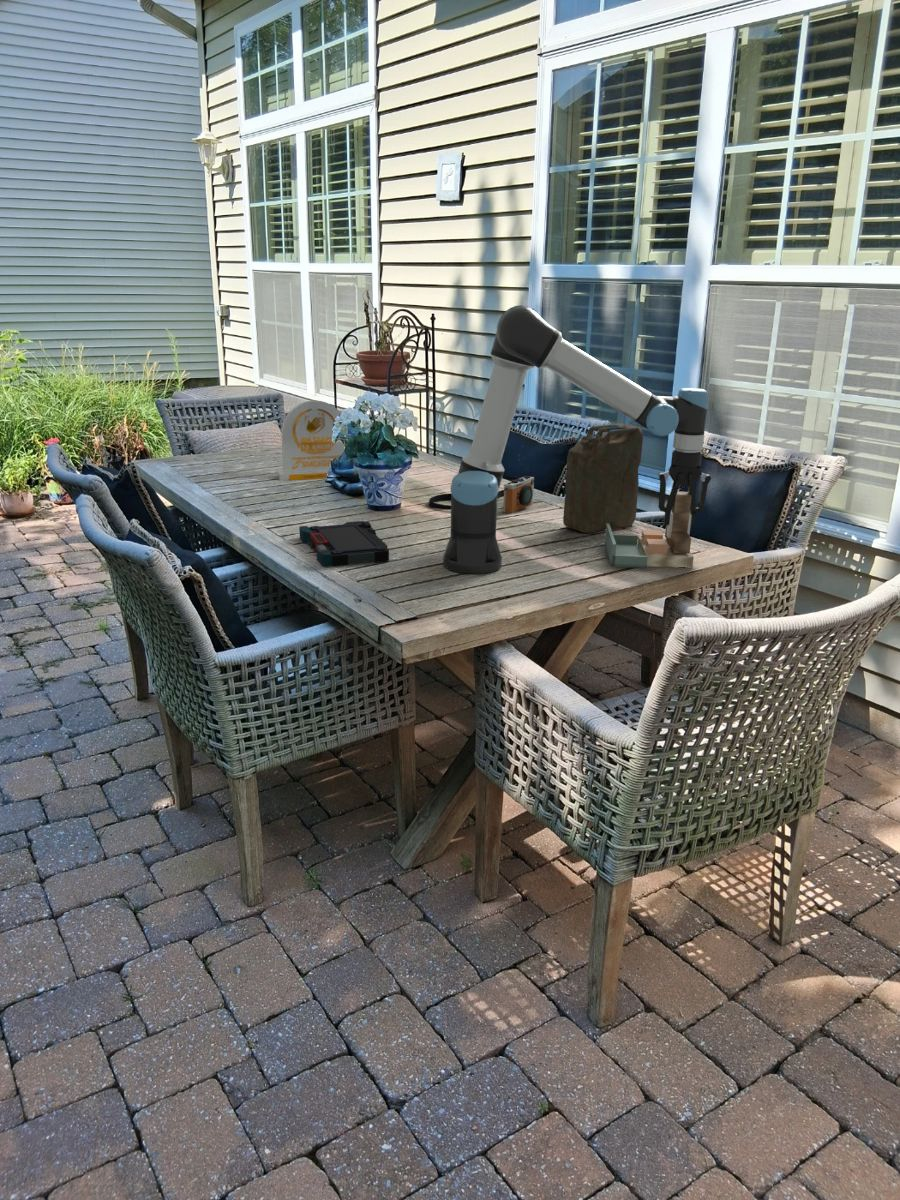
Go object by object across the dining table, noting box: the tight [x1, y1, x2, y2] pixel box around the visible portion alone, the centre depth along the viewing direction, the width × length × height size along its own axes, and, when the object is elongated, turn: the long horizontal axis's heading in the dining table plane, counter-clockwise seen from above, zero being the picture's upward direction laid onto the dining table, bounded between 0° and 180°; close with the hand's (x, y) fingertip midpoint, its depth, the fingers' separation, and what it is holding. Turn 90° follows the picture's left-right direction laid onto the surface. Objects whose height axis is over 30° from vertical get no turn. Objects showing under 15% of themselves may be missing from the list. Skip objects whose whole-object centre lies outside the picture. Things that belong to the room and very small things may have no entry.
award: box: [276, 399, 344, 481], centre depth 324 cm, size 28×9×28 cm, turn 108°
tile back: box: [640, 529, 664, 544], centre depth 243 cm, size 5×5×2 cm
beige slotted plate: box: [638, 536, 695, 569], centre depth 239 cm, size 12×18×3 cm, turn 175°
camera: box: [428, 475, 535, 514], centre depth 292 cm, size 30×30×10 cm
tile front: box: [645, 539, 668, 554], centre depth 234 cm, size 5×5×2 cm
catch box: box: [604, 524, 648, 569], centre depth 239 cm, size 9×21×6 cm, turn 175°
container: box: [562, 422, 644, 534], centre depth 263 cm, size 22×10×30 cm, turn 122°
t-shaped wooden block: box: [664, 491, 692, 553], centre depth 236 cm, size 4×16×14 cm, turn 175°
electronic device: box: [298, 520, 390, 568], centre depth 242 cm, size 20×31×5 cm, turn 21°
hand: (677, 536), depth 238 cm, fingers closed on t-shaped wooden block, 4 cm apart
